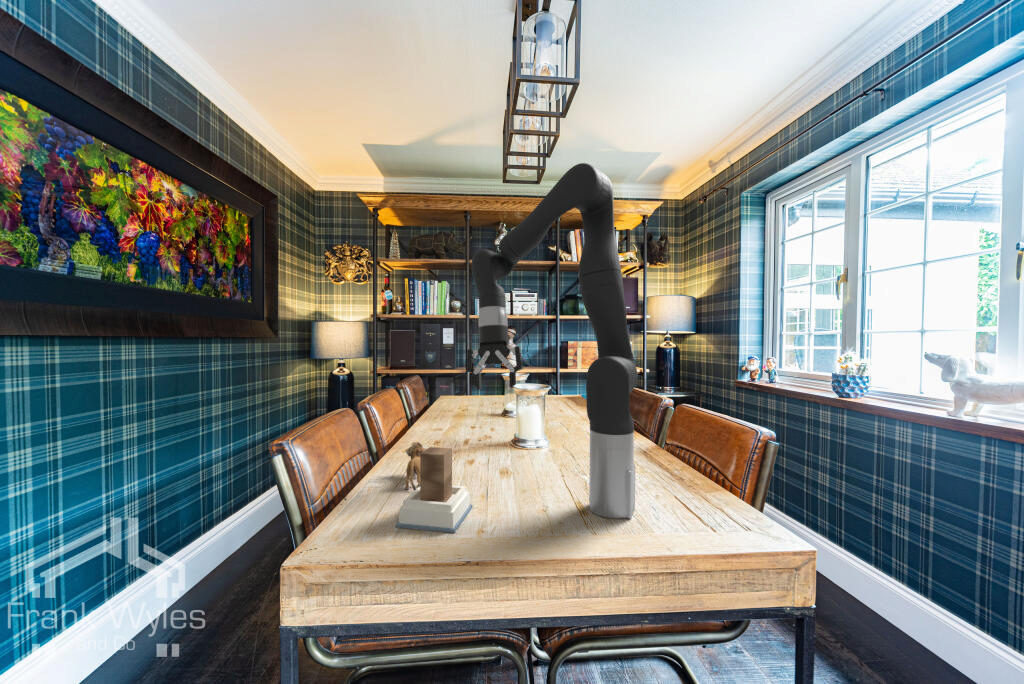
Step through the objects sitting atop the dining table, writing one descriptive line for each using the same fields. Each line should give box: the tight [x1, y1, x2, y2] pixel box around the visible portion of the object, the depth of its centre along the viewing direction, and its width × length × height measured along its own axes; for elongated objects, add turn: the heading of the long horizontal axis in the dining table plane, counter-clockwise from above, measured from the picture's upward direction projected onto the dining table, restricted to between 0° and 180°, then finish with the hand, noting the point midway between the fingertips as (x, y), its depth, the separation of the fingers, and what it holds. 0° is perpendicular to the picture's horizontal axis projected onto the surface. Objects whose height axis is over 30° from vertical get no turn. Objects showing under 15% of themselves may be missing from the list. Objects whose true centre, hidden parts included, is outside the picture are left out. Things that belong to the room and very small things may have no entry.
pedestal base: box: [395, 485, 474, 534], centre depth 84 cm, size 12×12×5 cm
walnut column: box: [419, 446, 453, 502], centre depth 84 cm, size 5×5×10 cm
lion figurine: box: [404, 441, 426, 491], centre depth 105 cm, size 15×5×9 cm, turn 13°
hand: (495, 388), depth 105 cm, fingers open, 8 cm apart
